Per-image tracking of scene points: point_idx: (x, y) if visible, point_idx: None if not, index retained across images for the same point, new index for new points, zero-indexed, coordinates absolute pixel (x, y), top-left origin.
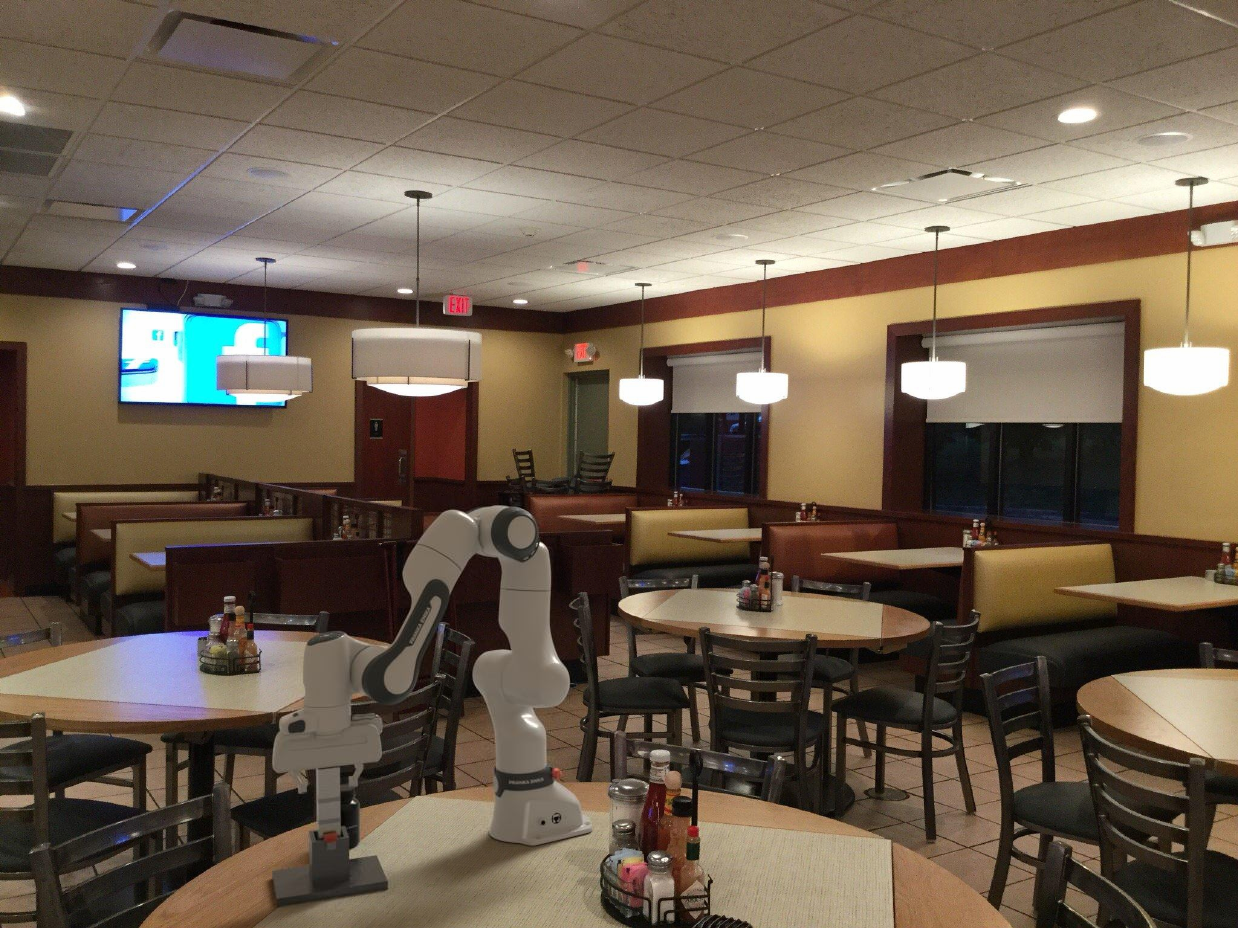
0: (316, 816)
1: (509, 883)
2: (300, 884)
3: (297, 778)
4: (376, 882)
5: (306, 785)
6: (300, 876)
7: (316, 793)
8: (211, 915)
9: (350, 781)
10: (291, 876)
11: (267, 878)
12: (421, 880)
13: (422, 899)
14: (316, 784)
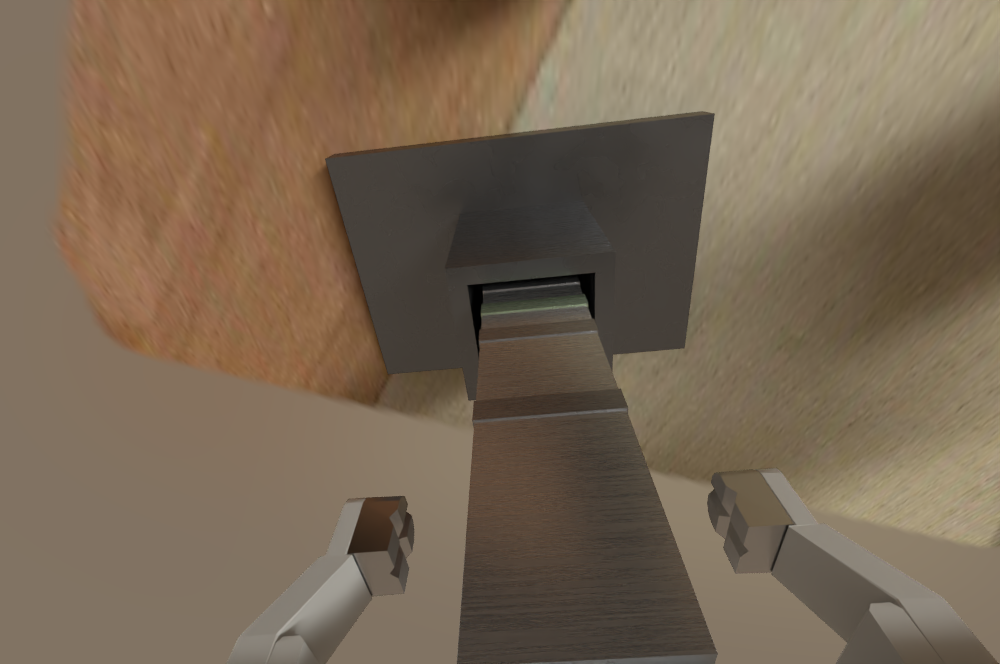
0: (479, 335)
1: (966, 387)
2: (441, 303)
3: (320, 661)
4: (652, 348)
5: (403, 581)
6: (434, 242)
7: (474, 426)
8: (239, 363)
9: (729, 551)
10: (404, 234)
11: (316, 148)
12: (779, 309)
13: (734, 411)
14: (472, 477)
